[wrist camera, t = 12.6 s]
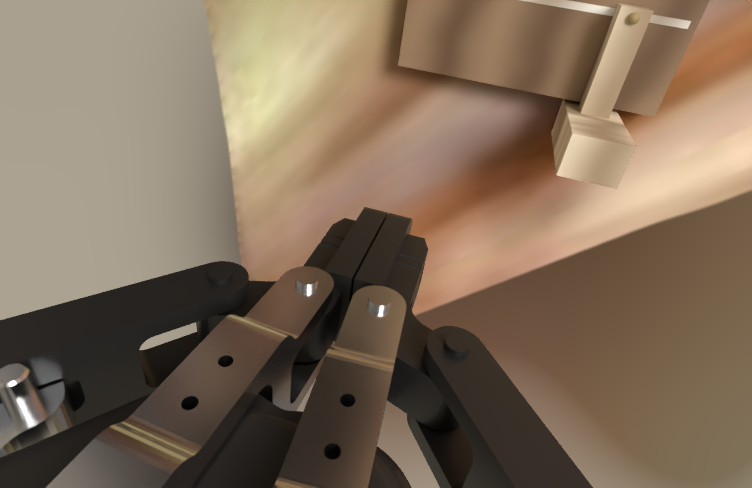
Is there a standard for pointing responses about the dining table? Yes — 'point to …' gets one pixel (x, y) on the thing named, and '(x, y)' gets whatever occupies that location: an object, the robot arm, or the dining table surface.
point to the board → (546, 44)
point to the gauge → (601, 108)
